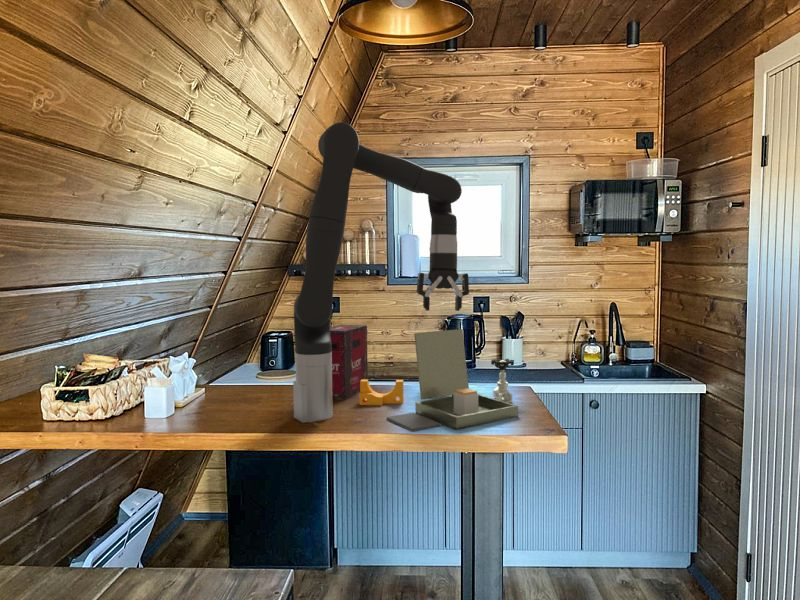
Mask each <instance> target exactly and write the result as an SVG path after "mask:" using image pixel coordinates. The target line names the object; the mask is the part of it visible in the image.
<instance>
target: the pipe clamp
mask: <svg viewBox="0 0 800 600" xmlns="http://www.w3.org/2000/svg"><path fill="white" fill-rule="evenodd" d="M358 395H359V396H358V397H359V401H358V402H359V406H383V405H384V404H395V405H396V404H402V405H403V404H404V401H405V400H404V379H396V380H395V385H394V387H393V389H391V390H390V391H389V392H386V393H380V392H376V391H375V390H373V388H372V386H371V384H370V383H369V379H368V380H366V379H362V380H361V381H360V392H359V394H358Z"/></svg>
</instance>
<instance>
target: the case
mask: <svg viewBox="0 0 800 600" xmlns="http://www.w3.org/2000/svg"><path fill="white" fill-rule="evenodd" d="M414 403H415V407H414V408H415V413H416V414H418V415H421V416H423V417H426V418H428V419H430V420H433V421H435V422H438V423H440V425H443V426H446V427H448V428H451V429H453V430H456V431H458V430H462V429H463V430H464V429H468V428H474V427H478V426H481V425H486V424H491V423H495V422H499V421H504V420H507V419H509V420H510V419H512V418H517V417H519V405H517V404H513V403H511V402H510V403H507V402H503V401H500V400H497V399H496V398H493V397H489V396H486V395H483V394H480V393H478V412H477V413H472V414H466V415H458V414H455V413H454V395H449V396H443V397H437V398H431V399H425V400H420V401H416V402H414Z"/></svg>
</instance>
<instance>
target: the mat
mask: <svg viewBox="0 0 800 600" xmlns="http://www.w3.org/2000/svg"><path fill="white" fill-rule="evenodd" d="M386 420H387V421H389V422H390V423H391V422H392V424H395V425H398V426H400V427H403V428H405V429H406V430H409V431H411V432H416V431H422V430H426V429H433V428H436V427H441V424H440V423H438V422H435V421H433V420H430V419H428V418H426V417H423V416H421V415H418V414H416V412H408V413H403V414H397V415H393V416H392V415H391V416H387V417H386Z"/></svg>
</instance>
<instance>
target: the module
mask: <svg viewBox="0 0 800 600" xmlns="http://www.w3.org/2000/svg"><path fill="white" fill-rule="evenodd" d="M478 394H479V393H478V391H477V390H475V389H472V388H469V389H468V388H465V389H459V390H455V392H454V413H455V414H458V415H466V414H472V413H477V412H478Z"/></svg>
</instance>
